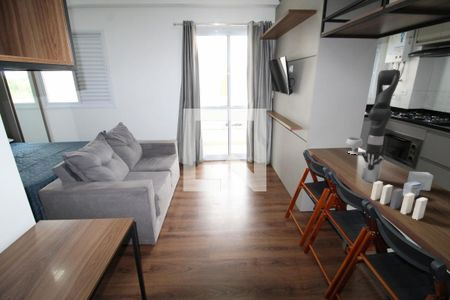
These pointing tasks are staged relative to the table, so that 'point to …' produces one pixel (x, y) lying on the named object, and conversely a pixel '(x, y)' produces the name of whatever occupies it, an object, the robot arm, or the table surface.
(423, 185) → the skincare box
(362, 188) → the table surface
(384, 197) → the domino
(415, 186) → the medicine box
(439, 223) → the table surface
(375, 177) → the robot arm
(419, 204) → the domino
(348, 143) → the chalice
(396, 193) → the domino
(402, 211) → the domino
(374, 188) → the domino
